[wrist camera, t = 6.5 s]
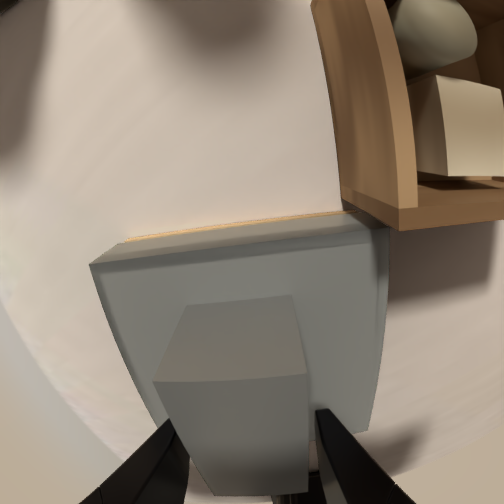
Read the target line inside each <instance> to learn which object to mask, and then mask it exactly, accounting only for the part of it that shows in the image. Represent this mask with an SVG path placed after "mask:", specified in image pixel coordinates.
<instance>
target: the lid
mask: <svg viewBox="0 0 504 504" xmlns="http://www.w3.org/2000/svg"><path fill="white" fill-rule="evenodd" d="M389 255H390V227H389V226H387V225H385V224H384V223H382V222H380V221H379V220H377V219H375V218H374V217H372V216H370V215H368V214H367V213H365V212H361V213H351V214H341V215H332V216H323V217H314V218H305V219H296V220H287V221H279V222H271V223H262V224H254V225H246V226H239V227H231V228H223V229H216V230H208V231H201V232H194V233H187V234H180V235H173V236H166V237H159V238H152V239H146V240H139V241H133V242H126V243H120V244H117V245H115V246H114V247H113V248H111V249H110V250H108V251H107V252H105V253H104V254H102V255H101V256H100V257H98V258H97V259H95V260H94V261H93V262H91V263H90V264H89V266H90V270H91V273H92V276H93V280H94V283H95V286H96V289H97V292H98V295H99V298H100V301H101V304H102V307H103V310H104V312H105V315H106V318H107V320H108V323H109V326H110V328H111V331H112V333H113V336H114V339H115V341H116V343H117V346H118V348H119V351H120V353H121V355H122V358H123V360H124V362H125V364H126V367H127V369H128V371H129V373H130V375H131V378H132V380H133V382H134V384H135V386H136V388H137V390H138V392H139V394H140V396H141V398H142V400H143V402H144V404H145V406H146V408H147V410H148V411H149V413H150V415H151V417H152V419H153V421H154V422H155V424H156V426H157V428H159V427H160V426H161V425H162V424H163V423H164V422H165V421H166V420H167V419H168V418H170V420H171V422H172V424H173V426H174V428H175V430H176V432H177V434H178V436H179V438H180V439H181V441H182V443H183V445H184V447H185V449H186V450H187V452H188V454H189V456H190V457H191V459H192V461H193V463H194V464H195V466H196V468H197V469H198V471H199V473H200V474H201V476H202V477H203V479H204V481H205V482H206V484H207V485H208V487H209V489H210V490H211V492H212V493H213V495H214V496H268V495H283V494H294V493H303V492H308V471H309V441H315V440H316V438H315V429H314V414H315V410H317V409H323V408H329V409H330V410H331V411H332V412H333V413H334V414H335V416H336V417H337V418H338V419H339V420H340V421H341V423H342V424H343V425H344V426H345V427H346V428H347V430H348V431H349V432H350V433H351V434H355V433H359V432H364V431H368V427H369V422H370V418H371V413H372V408H373V403H374V398H375V393H376V387H377V382H378V376H379V369H380V363H381V356H382V348H383V340H384V332H385V322H386V311H387V298H388V282H389Z"/></svg>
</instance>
